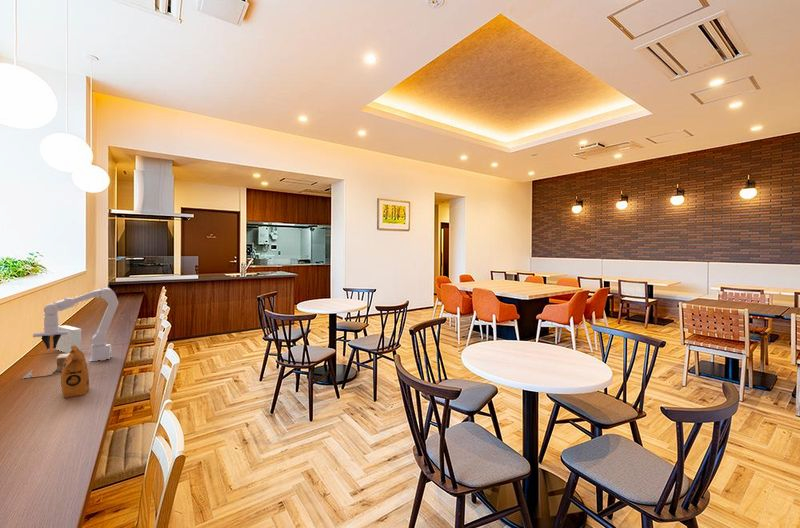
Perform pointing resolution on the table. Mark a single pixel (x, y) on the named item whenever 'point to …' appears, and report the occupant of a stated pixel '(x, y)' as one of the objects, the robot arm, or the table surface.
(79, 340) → the skincare box
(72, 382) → the coffee package
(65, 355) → the brown and cream block
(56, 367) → the mat
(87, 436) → the table surface
